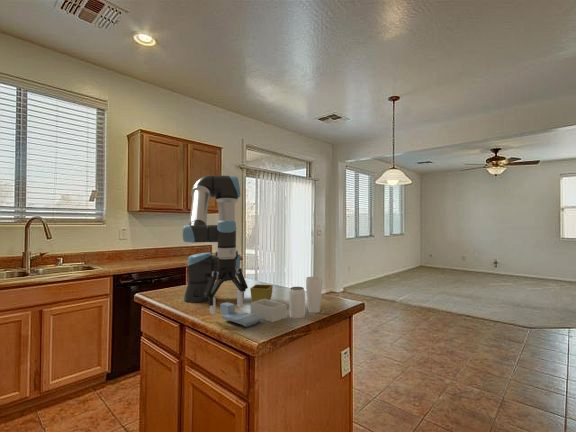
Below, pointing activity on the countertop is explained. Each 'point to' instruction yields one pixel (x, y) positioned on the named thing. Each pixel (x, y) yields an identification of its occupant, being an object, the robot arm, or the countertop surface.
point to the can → (297, 302)
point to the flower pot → (261, 292)
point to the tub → (268, 310)
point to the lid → (238, 315)
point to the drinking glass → (314, 293)
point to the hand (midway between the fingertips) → (226, 309)
